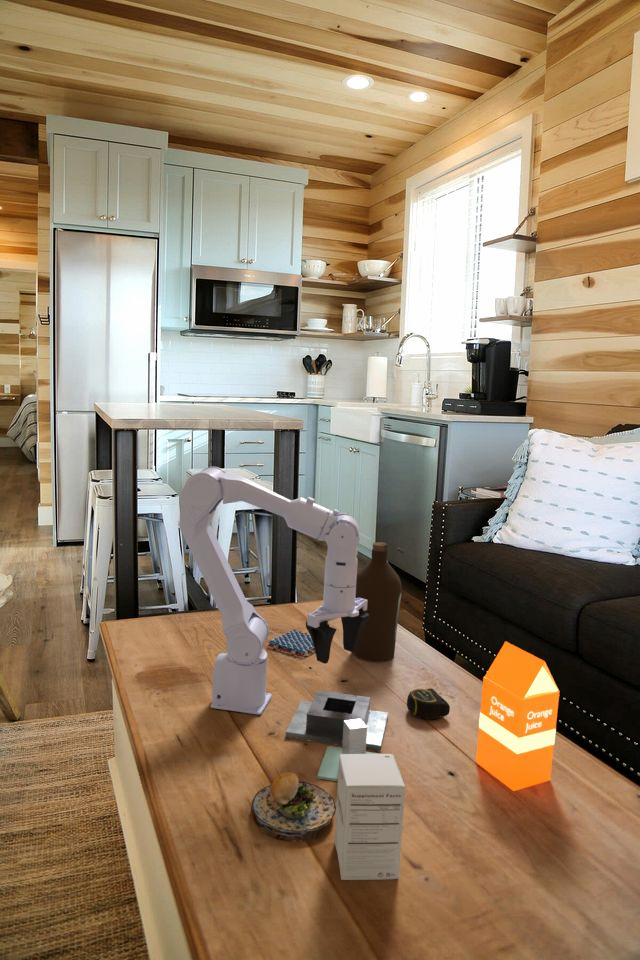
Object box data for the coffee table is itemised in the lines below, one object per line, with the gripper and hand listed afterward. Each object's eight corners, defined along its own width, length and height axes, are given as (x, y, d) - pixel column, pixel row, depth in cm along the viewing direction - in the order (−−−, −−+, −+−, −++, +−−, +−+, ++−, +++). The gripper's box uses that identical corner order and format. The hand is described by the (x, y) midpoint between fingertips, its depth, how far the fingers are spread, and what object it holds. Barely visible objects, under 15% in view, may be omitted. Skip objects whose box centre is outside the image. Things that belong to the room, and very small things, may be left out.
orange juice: (513, 791, 106) (525, 665, 103) (474, 762, 114) (485, 643, 111) (551, 780, 110) (564, 657, 107) (511, 752, 118) (522, 637, 115)
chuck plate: (285, 737, 119) (286, 714, 118) (301, 705, 130) (302, 685, 130) (380, 751, 116) (381, 728, 115) (387, 717, 127) (389, 696, 127)
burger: (327, 850, 91) (330, 797, 90) (239, 835, 93) (241, 783, 92) (341, 797, 103) (344, 749, 102) (263, 785, 105) (265, 738, 104)
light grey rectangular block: (347, 771, 108) (350, 729, 107) (341, 762, 111) (343, 720, 110) (364, 769, 109) (367, 727, 108) (357, 760, 112) (360, 718, 111)
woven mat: (264, 649, 157) (265, 640, 157) (292, 636, 166) (292, 628, 166) (303, 661, 152) (303, 652, 151) (329, 647, 161) (330, 638, 160)
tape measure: (450, 721, 128) (452, 702, 127) (415, 725, 126) (417, 705, 125) (433, 704, 134) (435, 685, 134) (400, 707, 132) (401, 688, 132)
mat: (317, 778, 107) (317, 775, 107) (327, 748, 116) (327, 746, 116) (376, 787, 105) (376, 784, 105) (382, 756, 114) (382, 754, 114)
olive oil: (356, 664, 150) (363, 550, 147) (343, 645, 161) (350, 538, 157) (403, 662, 153) (411, 549, 149) (388, 643, 163) (395, 538, 159)
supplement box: (333, 842, 93) (338, 752, 91) (388, 841, 93) (395, 752, 91) (339, 882, 85) (345, 785, 84) (399, 881, 86) (406, 785, 84)
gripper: (331, 596, 118) (326, 674, 120) (382, 580, 129) (377, 651, 131) (300, 586, 122) (296, 661, 124) (352, 572, 133) (348, 641, 135)
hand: (336, 655), depth 128 cm, fingers open, 7 cm apart
